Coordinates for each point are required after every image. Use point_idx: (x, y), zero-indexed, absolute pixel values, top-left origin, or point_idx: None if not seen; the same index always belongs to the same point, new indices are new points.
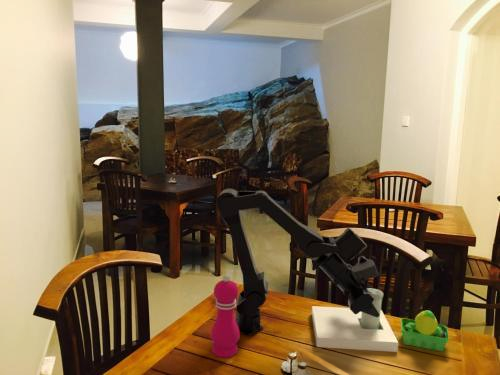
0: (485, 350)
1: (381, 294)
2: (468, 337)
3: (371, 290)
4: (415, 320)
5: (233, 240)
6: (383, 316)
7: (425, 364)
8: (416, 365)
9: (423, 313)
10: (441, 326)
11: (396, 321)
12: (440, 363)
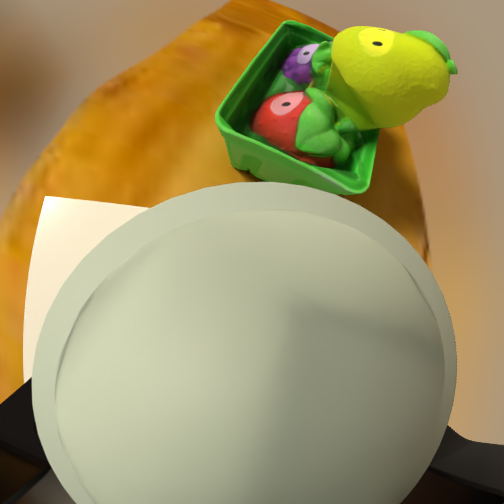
0: (297, 18)
1: (383, 257)
2: (233, 10)
3: (153, 440)
4: (386, 104)
5: None
6: (119, 213)
7: (399, 186)
8: (408, 218)
9: (442, 66)
10: (283, 28)
11: (86, 145)
12: (385, 141)
